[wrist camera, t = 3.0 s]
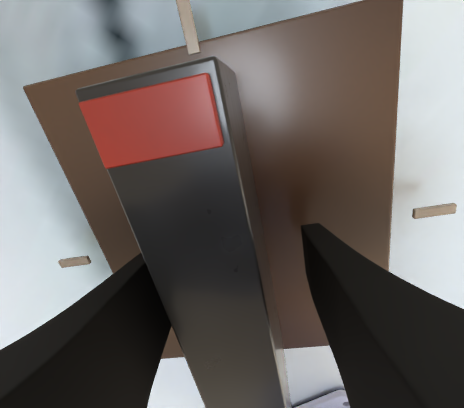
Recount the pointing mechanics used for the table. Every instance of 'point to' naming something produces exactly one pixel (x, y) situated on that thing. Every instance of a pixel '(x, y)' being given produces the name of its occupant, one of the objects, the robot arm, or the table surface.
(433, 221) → the table surface
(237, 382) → the red tipped gray strip
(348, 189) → the base
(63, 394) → the robot arm
